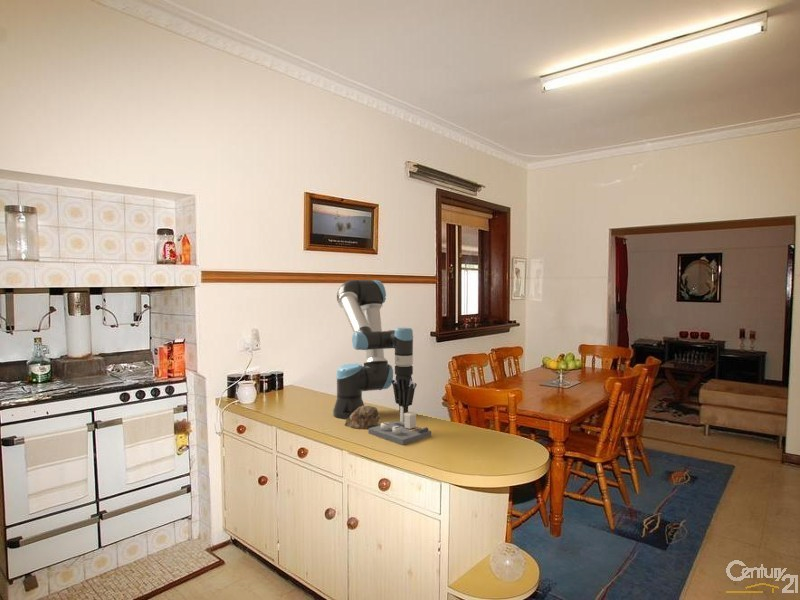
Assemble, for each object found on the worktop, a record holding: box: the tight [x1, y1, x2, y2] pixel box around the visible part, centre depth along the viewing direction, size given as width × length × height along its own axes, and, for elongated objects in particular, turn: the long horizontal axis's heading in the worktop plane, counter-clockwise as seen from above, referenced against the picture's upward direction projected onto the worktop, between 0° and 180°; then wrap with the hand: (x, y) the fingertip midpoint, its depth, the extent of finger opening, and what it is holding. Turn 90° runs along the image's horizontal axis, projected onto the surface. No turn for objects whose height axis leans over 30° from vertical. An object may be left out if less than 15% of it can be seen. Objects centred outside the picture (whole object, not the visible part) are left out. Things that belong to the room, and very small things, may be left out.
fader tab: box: [404, 411, 418, 429], centre depth 196 cm, size 3×4×6 cm
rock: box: [344, 405, 381, 430], centre depth 206 cm, size 14×9×10 cm
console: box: [367, 420, 432, 446], centre depth 193 cm, size 20×16×5 cm
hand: (403, 421), depth 198 cm, fingers closed
